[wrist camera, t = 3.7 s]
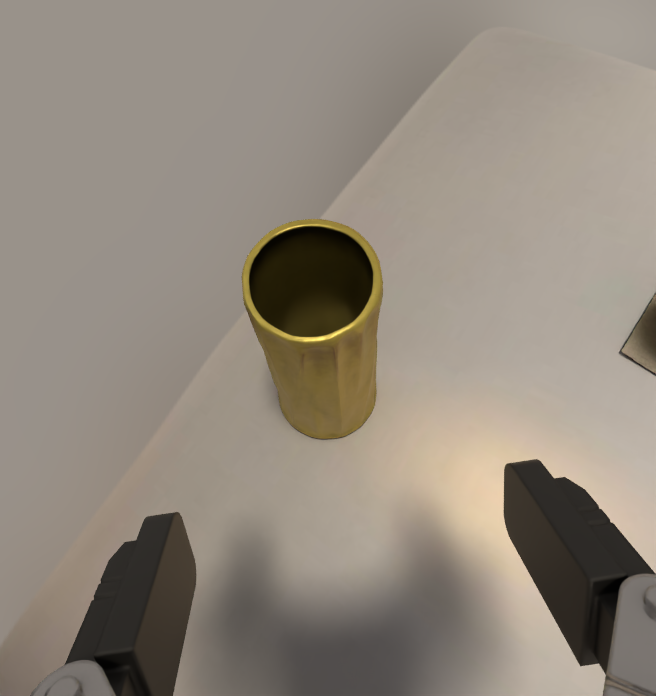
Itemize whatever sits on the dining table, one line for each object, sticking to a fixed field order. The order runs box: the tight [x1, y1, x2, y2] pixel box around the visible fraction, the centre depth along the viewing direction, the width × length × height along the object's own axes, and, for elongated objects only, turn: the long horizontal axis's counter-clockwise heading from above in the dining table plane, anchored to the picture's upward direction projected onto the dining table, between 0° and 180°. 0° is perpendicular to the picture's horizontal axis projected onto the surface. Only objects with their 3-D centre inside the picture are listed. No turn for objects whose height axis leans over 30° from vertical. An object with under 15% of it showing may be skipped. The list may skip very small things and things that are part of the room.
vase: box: [242, 219, 383, 439], centre depth 25 cm, size 6×6×14 cm
